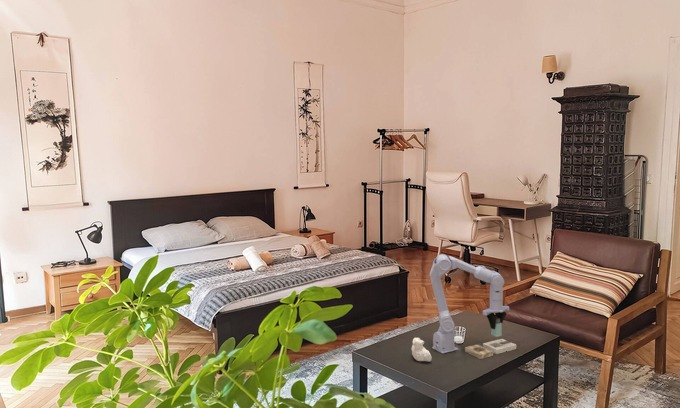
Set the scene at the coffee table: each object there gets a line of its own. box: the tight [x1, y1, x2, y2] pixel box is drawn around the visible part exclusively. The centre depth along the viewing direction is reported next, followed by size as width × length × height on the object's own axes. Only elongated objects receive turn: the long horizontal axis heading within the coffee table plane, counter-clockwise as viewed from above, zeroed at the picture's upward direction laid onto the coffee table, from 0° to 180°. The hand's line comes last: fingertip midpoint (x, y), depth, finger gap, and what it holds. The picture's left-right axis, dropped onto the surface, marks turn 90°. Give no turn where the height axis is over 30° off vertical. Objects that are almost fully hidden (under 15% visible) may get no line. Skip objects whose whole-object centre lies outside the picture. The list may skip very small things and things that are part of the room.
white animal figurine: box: [410, 337, 432, 362], centre depth 232 cm, size 12×8×11 cm
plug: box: [490, 318, 503, 338], centre depth 241 cm, size 3×3×8 cm
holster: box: [464, 343, 494, 360], centre depth 238 cm, size 8×10×2 cm
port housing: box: [482, 338, 517, 355], centre depth 244 cm, size 12×9×2 cm
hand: (495, 327), depth 242 cm, fingers closed on plug, 3 cm apart
